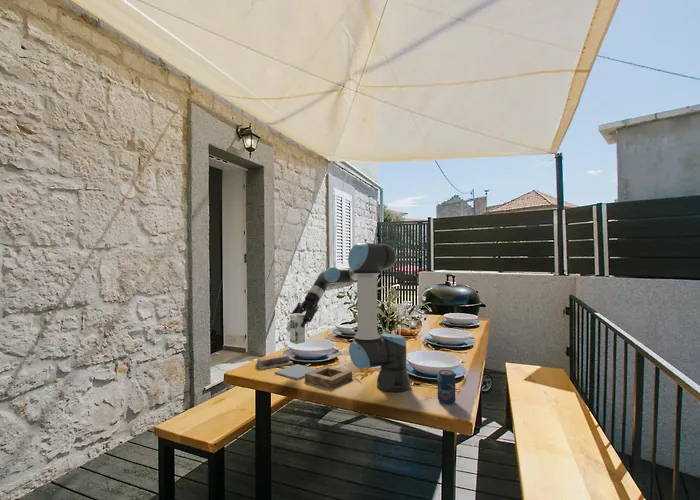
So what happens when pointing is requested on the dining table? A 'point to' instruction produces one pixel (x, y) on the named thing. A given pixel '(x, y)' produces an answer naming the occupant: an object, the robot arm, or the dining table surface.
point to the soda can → (446, 387)
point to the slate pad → (295, 371)
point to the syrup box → (294, 323)
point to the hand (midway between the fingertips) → (292, 331)
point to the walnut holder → (322, 379)
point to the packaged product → (273, 362)
